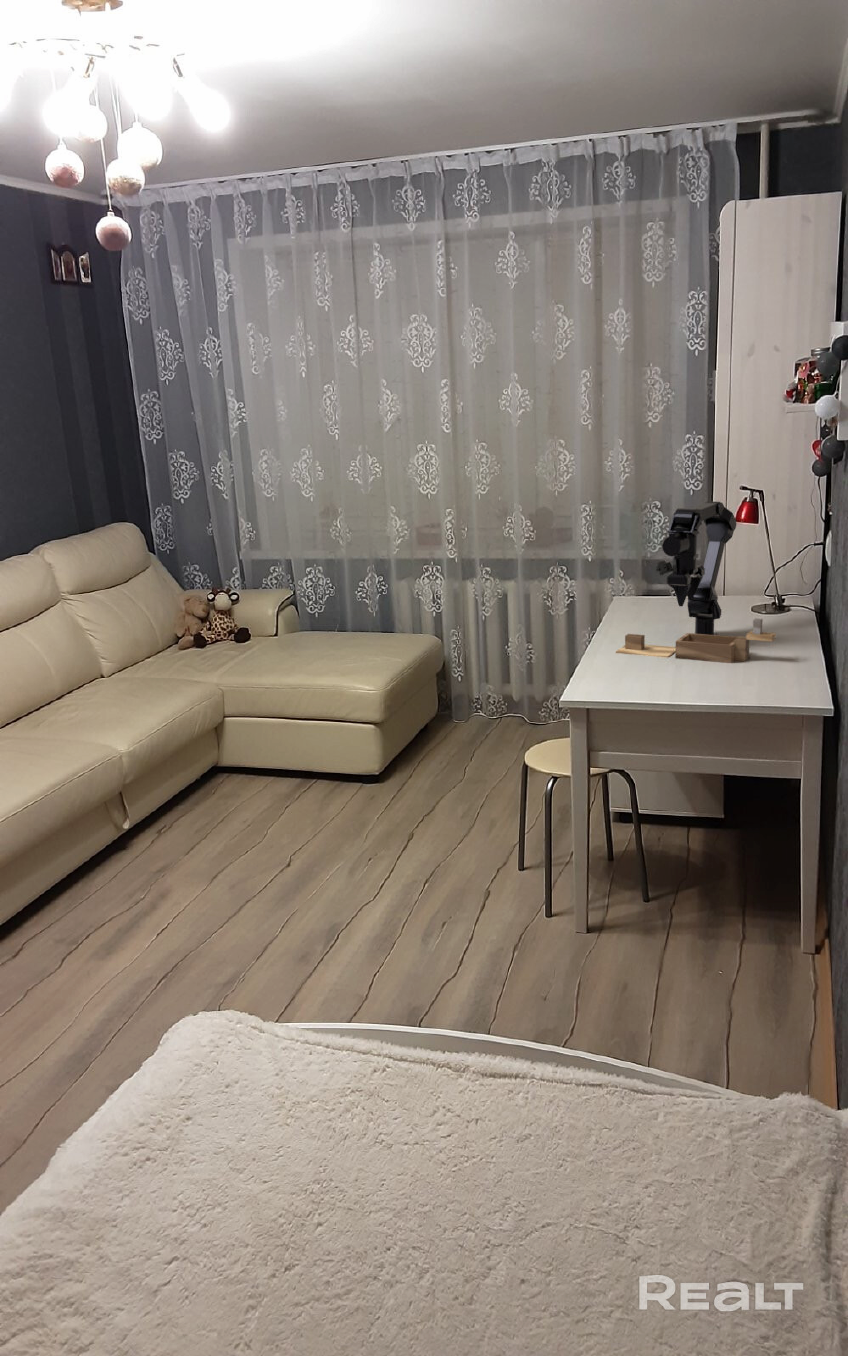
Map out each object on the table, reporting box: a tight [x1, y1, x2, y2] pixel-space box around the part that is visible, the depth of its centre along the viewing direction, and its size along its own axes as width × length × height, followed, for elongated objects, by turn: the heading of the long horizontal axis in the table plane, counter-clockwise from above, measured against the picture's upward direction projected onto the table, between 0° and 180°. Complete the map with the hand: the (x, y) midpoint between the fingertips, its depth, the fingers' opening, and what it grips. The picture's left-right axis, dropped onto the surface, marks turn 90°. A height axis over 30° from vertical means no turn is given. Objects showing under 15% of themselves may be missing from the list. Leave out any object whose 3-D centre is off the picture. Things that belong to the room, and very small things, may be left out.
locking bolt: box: [746, 617, 776, 642], centre depth 296 cm, size 4×7×6 cm, turn 60°
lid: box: [615, 633, 676, 659], centre depth 315 cm, size 11×16×5 cm
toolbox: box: [674, 632, 751, 664], centre depth 305 cm, size 11×19×6 cm, turn 60°
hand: (685, 603), depth 316 cm, fingers open, 9 cm apart
